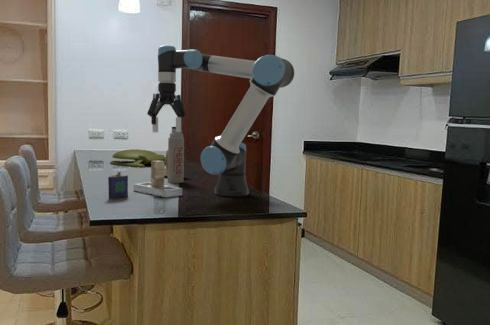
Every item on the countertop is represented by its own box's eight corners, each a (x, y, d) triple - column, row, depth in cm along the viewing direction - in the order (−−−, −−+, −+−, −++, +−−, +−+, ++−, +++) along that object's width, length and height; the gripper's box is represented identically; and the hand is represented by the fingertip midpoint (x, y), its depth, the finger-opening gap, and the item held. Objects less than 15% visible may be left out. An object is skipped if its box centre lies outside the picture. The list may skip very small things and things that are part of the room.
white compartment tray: (182, 195, 199) (182, 188, 199) (165, 197, 192) (166, 190, 192) (149, 188, 213) (149, 182, 213) (133, 190, 206) (133, 183, 206)
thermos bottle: (184, 182, 234) (185, 127, 231) (168, 182, 232) (169, 126, 229) (182, 180, 242) (183, 126, 239) (166, 180, 240) (167, 126, 237)
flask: (125, 195, 194) (125, 170, 192) (129, 196, 192) (130, 171, 191) (106, 198, 186) (107, 172, 185) (111, 199, 184) (111, 172, 183)
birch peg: (163, 193, 203) (164, 161, 202) (156, 194, 200) (157, 161, 199) (158, 191, 206) (158, 160, 204) (150, 192, 203) (151, 160, 201)
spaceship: (173, 165, 314) (173, 150, 313) (140, 168, 288) (140, 153, 287) (136, 160, 332) (136, 147, 331) (102, 163, 306) (102, 149, 305)
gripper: (181, 85, 212) (181, 131, 214) (138, 81, 193) (139, 132, 195) (193, 84, 208) (193, 131, 210) (150, 80, 188) (151, 132, 190)
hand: (167, 132), depth 202 cm, fingers open, 13 cm apart
